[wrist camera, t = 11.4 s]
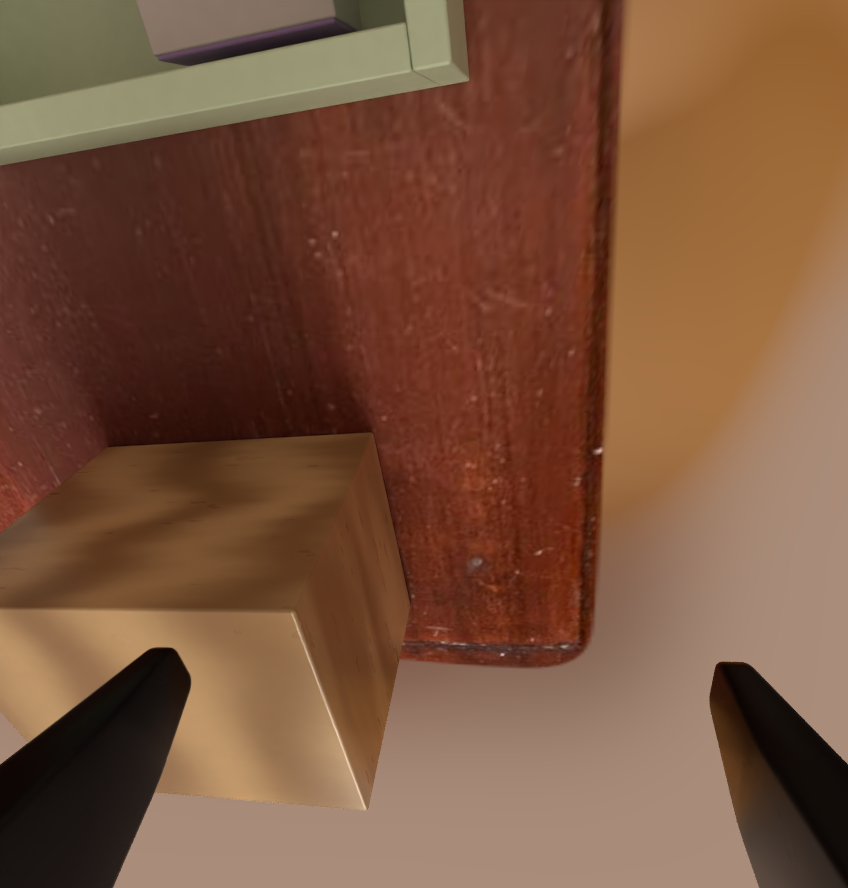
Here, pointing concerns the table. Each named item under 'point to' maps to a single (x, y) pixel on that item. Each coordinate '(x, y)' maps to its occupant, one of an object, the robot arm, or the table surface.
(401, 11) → the tray
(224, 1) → the chocolate bar
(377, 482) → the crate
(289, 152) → the table surface
